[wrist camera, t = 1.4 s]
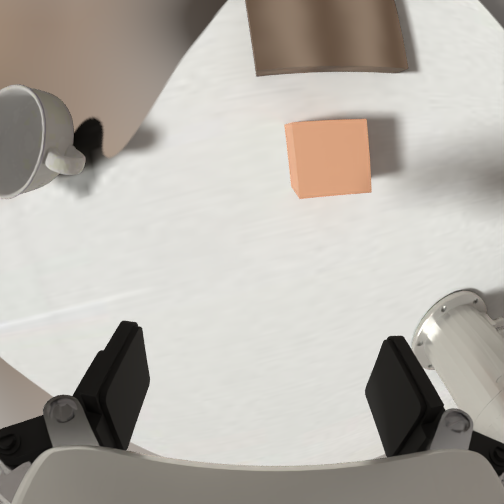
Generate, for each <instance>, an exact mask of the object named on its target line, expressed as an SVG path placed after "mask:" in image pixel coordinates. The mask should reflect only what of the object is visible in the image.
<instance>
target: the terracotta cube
mask: <svg viewBox="0 0 504 504" xmlns="http://www.w3.org/2000/svg"><path fill="white" fill-rule="evenodd" d="M285 134H286V142H287V151H288V160H289V169H290V179H291V187H292V188H293V190H294V191H295V193H296V194H297V196H298V197H299V199H303V198H313V197H323V196H334V195H346V194H358V193H370V192H371V171H370V154H369V141H368V129H367V119H343V120H322V121H306V122H293V123H289V124H285Z"/></svg>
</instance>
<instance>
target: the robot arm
mask: <svg viewBox="0 0 504 504" xmlns="http://www.w3.org/2000/svg"><path fill="white" fill-rule="evenodd" d="M502 326H504V318H503V317H500V318H497V319H495V320H492V319H491V318H490V317H489V316H488V315H487V308H486V305H485V303H484V301H483V300H482V299H481V298H480V297H479V296H478V295H477V294H475V293H474V292H470V291H460V292H456V293H453V294H451V295H448V296H447V297H445V298H443V299H442V300H440V301H439V302H438V303H437V304H435V305H434V306H433V307H432V308H431V309H430V310H429V311H428V312H427V313H426V315H425V316H424V317H423V319H422V320H421V322H420V323H419V325H418V327H417V329H416V331H415V334H414V337H413V341H412V349H411V348H410V346H409V345H408V343H407V341H406V340H405V338H404V337H403V336H389V337H388V338H387V340H384V341H383V344H382V346H381V349H380V352H379V355H378V357H377V360H376V363H375V365H374V368H373V371H372V373H371V376H370V378H369V381H368V383H367V386H366V389H365V395H366V398H367V401H368V404H369V406H370V409H371V412H372V415H373V418H374V421H375V424H376V427H377V429H378V432H379V435H380V438H381V441H382V444H383V447H384V450H385V453H386V456H387V458H380V459H373V460H365V461H357V462H348V463H337V464H324V465H305V466H249V465H230V464H216V463H205V462H196V461H188V460H180V459H173V458H166V457H160V456H153V455H147V454H142V453H136V452H131V451H126V450H127V448H128V445H129V442H130V439H131V436H132V433H133V430H134V427H135V424H136V422H137V419H138V416H139V413H140V410H141V407H142V404H143V401H144V399H145V396H146V393H147V390H148V387H149V383H150V376H149V370H148V364H147V358H146V351H145V345H144V338H143V331H142V327H139V326H138V324H137V323H136V322H130V321H122V322H121V323H120V324H119V326H118V328H117V329H116V331H115V333H114V334H113V336H112V338H111V339H110V341H109V343H108V344H107V346H106V348H105V349H104V351H102V350H101V351H99V352H98V353H97V355H96V357H95V358H94V360H93V362H92V363H91V365H90V367H89V368H88V370H87V372H86V373H85V375H84V377H83V379H82V380H81V382H80V384H79V385H78V387H77V389H76V391H75V392H74V394H73V396H70V395H58V396H55V397H53V398H51V399H50V400H49V401H47V403H46V404H45V406H44V409H43V415H42V416H39V417H36V418H33V419H30V420H27V421H24V422H21V423H18V424H15V425H11V426H8V427H5V428H2V429H0V504H504V328H501V329H498V330H496V328H499V327H502ZM422 367H423V368H425V369H428V370H436V372H437V373H438V375H439V377H440V378H441V380H442V382H443V383H444V385H445V386H446V388H447V390H448V391H449V393H450V395H451V396H452V398H453V400H454V402H455V403H456V405H457V407H458V408H459V409H448V410H446V411H445V409H444V407H443V406H444V404H443V402H442V400H441V399H440V397H439V395H438V393H437V392H436V390H435V388H434V386H433V385H432V383H431V381H430V379H429V378H428V376H427V374H426V373H425V371H424V369H423V368H422Z"/></svg>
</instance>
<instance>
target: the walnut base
mask: <svg viewBox="0 0 504 504" xmlns="http://www.w3.org/2000/svg"><path fill="white" fill-rule="evenodd" d="M245 3H246V9H247V15H248V22H249V28H250V35H251V42H252V49H253V56H254V63H255V70H256V77H257V76H266V75H277V74H291V73H308V72H380V73H398V72H401V71H404V70H407V69H408V64H407V58H406V52H405V47H404V41H403V36H402V32H401V27H400V22H399V18H398V14H397V10H396V6H395V2H394V0H245Z"/></svg>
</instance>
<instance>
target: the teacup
mask: <svg viewBox="0 0 504 504" xmlns="http://www.w3.org/2000/svg"><path fill="white" fill-rule="evenodd" d="M73 138H74V128H73V121H72V117H71V114H70V112H69V110H68V108H67V107H66V105H65V104H64V103H63V102H62V101H61V100H60V99H59V98H58V97H56V96H54V95H52V94H50V93H47V92H45V91H41V90H37V89H32V88H29V87H26V86H24V85H10V86H8V87H5V88H3V89H2V90H0V199H11V198H13V197H16V196H18V195H19V194H23V193H26V192H29V191H32V190H35V189H38V188H40V187H43V186H44V185H46V184H48V183H49V182H51V181H52V180H53V179H55V178H56V177H57V176H58V175H59V174H60V173H61V174H65V175H76V174H79V173H81V171H82V170H83V168H84V166H85V156H84V155H83V154H82V153H81V152H80V151H78V150H77V149H76V148H75V147H74V146H72V145H73Z"/></svg>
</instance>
